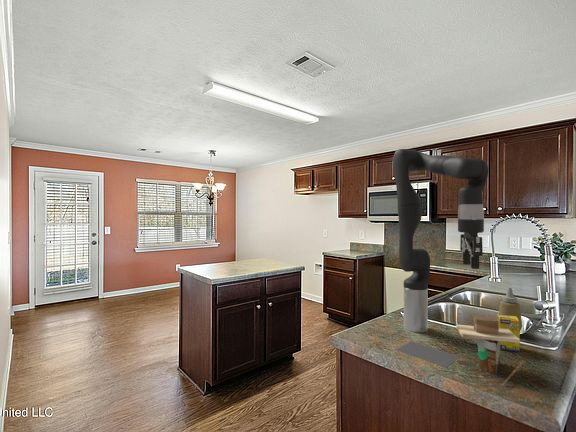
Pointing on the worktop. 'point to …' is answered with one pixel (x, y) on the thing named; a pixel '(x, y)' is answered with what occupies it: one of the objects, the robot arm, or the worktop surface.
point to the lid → (487, 330)
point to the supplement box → (513, 326)
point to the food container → (489, 355)
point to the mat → (428, 354)
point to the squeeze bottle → (510, 306)
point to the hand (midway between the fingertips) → (470, 266)
